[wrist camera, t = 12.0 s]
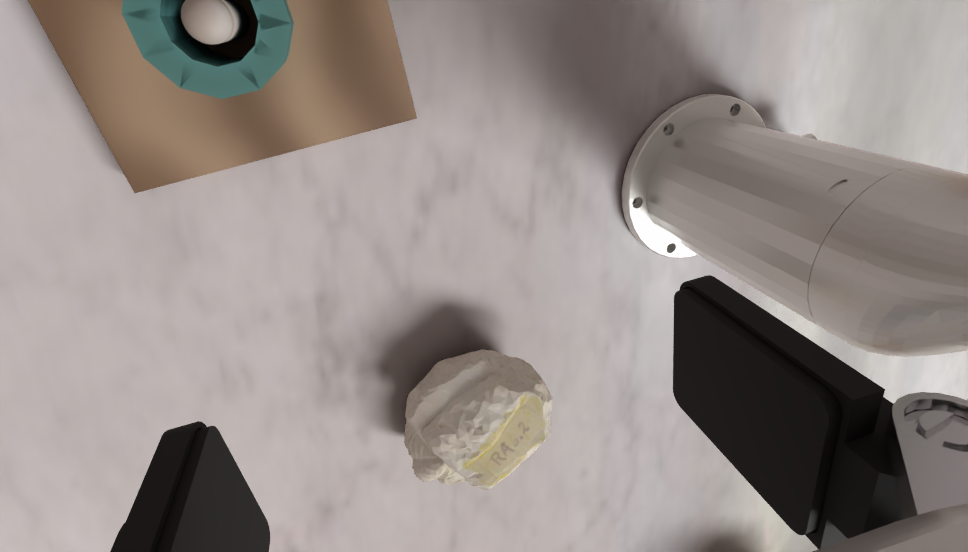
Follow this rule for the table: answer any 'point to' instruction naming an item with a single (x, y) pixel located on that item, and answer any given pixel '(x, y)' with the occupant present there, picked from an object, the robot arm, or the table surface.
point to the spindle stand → (239, 119)
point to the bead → (194, 64)
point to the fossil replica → (476, 418)
